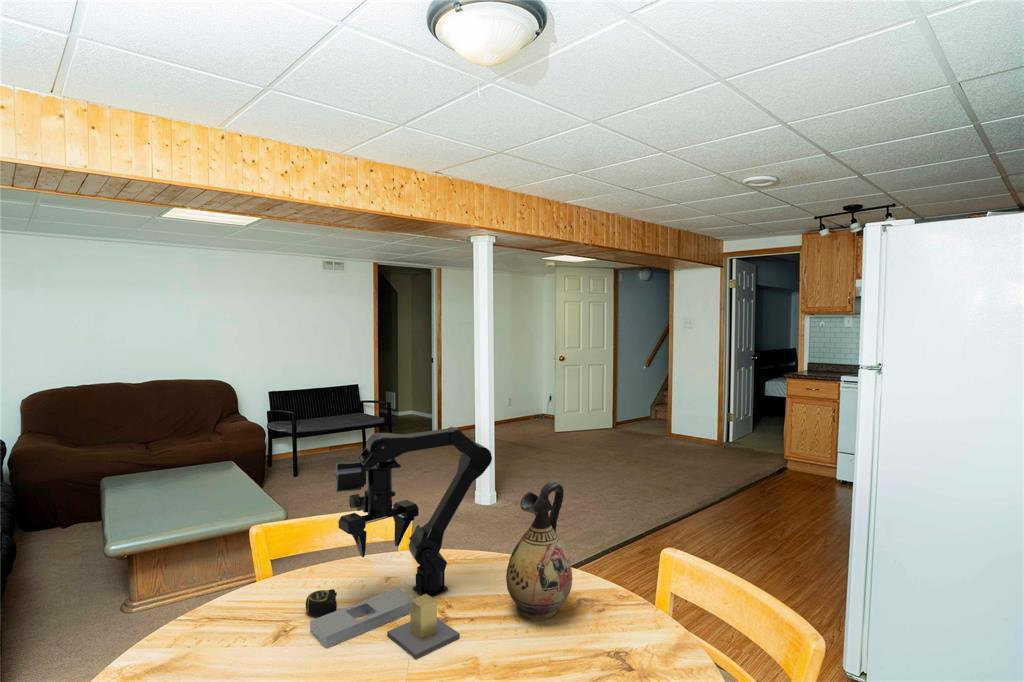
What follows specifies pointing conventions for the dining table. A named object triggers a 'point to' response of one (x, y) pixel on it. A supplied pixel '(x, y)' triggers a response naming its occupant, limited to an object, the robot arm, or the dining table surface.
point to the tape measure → (321, 602)
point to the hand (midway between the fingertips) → (380, 551)
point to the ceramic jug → (540, 559)
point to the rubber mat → (425, 645)
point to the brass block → (423, 616)
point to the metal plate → (345, 626)
